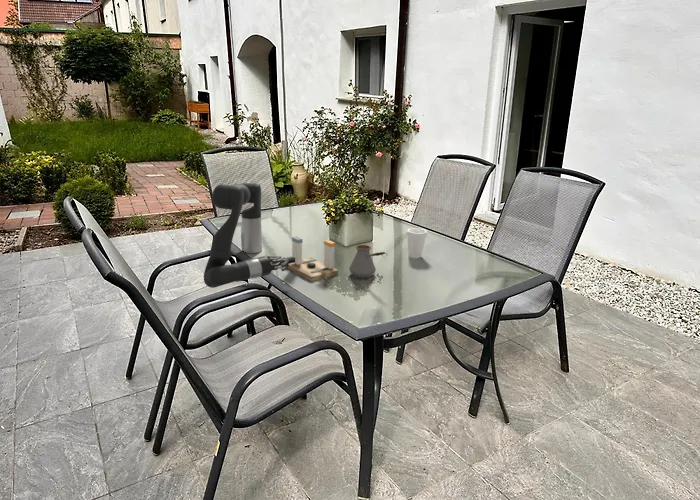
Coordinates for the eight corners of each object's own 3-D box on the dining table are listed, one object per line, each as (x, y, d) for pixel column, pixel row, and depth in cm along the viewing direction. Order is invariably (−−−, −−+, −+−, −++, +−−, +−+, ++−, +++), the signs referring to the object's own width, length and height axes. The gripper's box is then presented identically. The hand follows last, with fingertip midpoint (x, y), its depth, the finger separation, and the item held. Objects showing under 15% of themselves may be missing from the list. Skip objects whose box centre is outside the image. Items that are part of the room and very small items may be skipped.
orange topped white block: (330, 269, 200) (330, 243, 197) (323, 266, 204) (324, 240, 200) (334, 268, 202) (335, 242, 198) (327, 265, 205) (328, 239, 202)
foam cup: (426, 255, 231) (429, 230, 227) (421, 260, 223) (423, 234, 219) (408, 252, 235) (410, 227, 231) (402, 257, 227) (404, 231, 223)
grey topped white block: (297, 265, 204) (297, 239, 200) (291, 262, 207) (291, 237, 203) (302, 264, 205) (302, 239, 201) (296, 261, 209) (296, 236, 205)
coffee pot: (344, 273, 204) (345, 240, 199) (365, 268, 210) (367, 237, 205) (371, 290, 187) (373, 254, 182) (394, 285, 193) (396, 250, 188)
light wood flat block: (311, 281, 193) (311, 274, 192) (285, 267, 208) (285, 260, 207) (337, 274, 202) (338, 267, 201) (311, 261, 216) (311, 255, 215)
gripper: (264, 263, 173) (303, 255, 184) (247, 253, 182) (285, 246, 193) (265, 282, 175) (303, 272, 186) (248, 271, 185) (285, 263, 195)
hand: (294, 259), depth 189 cm, fingers closed
